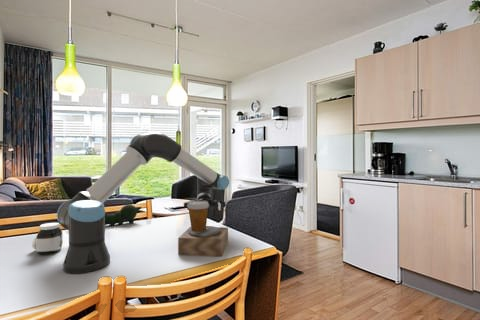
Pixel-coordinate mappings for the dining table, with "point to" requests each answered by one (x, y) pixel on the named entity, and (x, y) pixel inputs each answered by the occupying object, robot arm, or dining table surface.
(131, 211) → the dark green lumpy figure
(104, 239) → the robot arm
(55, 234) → the spread jar
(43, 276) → the dining table surface
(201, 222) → the disposable coffee cup
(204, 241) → the block
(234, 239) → the dining table surface
